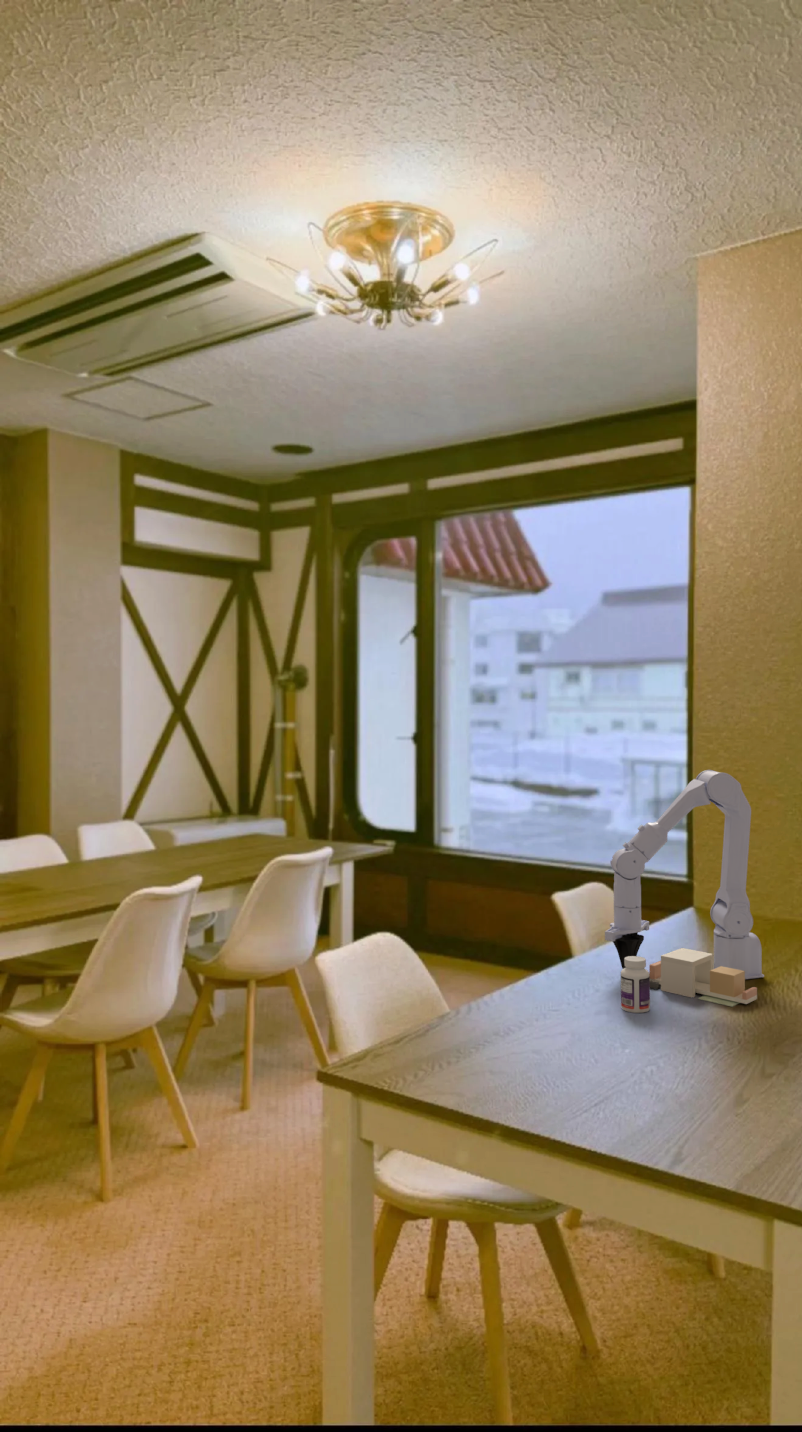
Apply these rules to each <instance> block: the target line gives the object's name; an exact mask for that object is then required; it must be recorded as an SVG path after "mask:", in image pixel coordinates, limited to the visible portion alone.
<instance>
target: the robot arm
mask: <svg viewBox="0 0 802 1432" xmlns="http://www.w3.org/2000/svg"><path fill="white" fill-rule="evenodd" d="M711 803H713V804H714V805H715V806H716V807H717V809H718V810H720V811H721V813H723V815H724V827H723V840H722V841H723V842H722V843H723V844H722V859H721V871H720V885H719V886H720V887H719V888H718V890H717V892H716V893H715V899H714V902H713V904H712V906H711V907H710V912H709V914H710V918H711V921H712V922H713V923H714V924H715V925H714V926H715V927H714V929H713V969H715V968H718V967H720V966H723V967H728V968H733V969H737V970H742V971H745V980H751V979H759V978H764V977H765V974H763V973H762V962H763V961H762V956H763V955H762V944H761V941H760V939H759V937H758V936H757V935H756V934H755V933H753V932H751V930H752V929H753V925H754V917H753V915H752V913H751V910H750V909H751V907H750V906H751V903H750V900H749V897H748V895H747V880H748V879H747V876H748V862H749V861H748V860H749V850H750V849H749V848H750V847H749V846H750V834H751V821H752V820H751V819H752V807H751V805H750V803H749V801H748V798H747V797H746V795H745V793H744V792H743V789H742V784H741V783H740V782H739V781H738V780H737V779H736V778H735V777H733V776H732V775H731V774H729V773H727V772H719V771H715V770H712V769H706V770H703V771H700V773H698V775H696V777H695V778H693V779H692V780H691V781H689V783H687V785H686V786H685V787H684V789H683V790H682V791H681V792H680V793H679V794H678V796H677V797H676V798H675V799H674V800H673V801H672V802H671V804H670V805H669V806H668V807H667V809H665V811H664V812H663V813H662V815H661V816H660V817H659V818H658V819H657V820H656V821H655V822H646V823H645V825H643V824H641V825H639V826H638V827H637V830H638V832H637V833H636V834H635V835H634V836H632V838H631V839H630V840H629V841H628V842H624V843H623V844H622V847H623V848H622V849H618V850H617V851H615V852H614V853H613V855H612V859H611V860H610V866H611V868H612V870H613V871H614V872H613V873H614V874H613V875H614V876H613V880H614V882H613V922H611V923H609V928H608V929H607V930H604V941H609V942H612V943H613V944H614V946H615V949H616V952H617V954H618V958H619V963H620V965H621V970H622V969H624V968H626V966H625V964H624V958H625V957H628V956H638V952H639V950H640V947H641V946H642V944H643V942H644V939H645V936H644V935H643V934H639V933H641V932H642V931H650V921H649V920H644V919H642V884H641V875H642V874H644V871H645V868H646V864H647V863H648V862H650V860H651V859H652V858H653V857H654V856H655V855H656V853H658V852H659V851H660V850H661V848H663V847H664V845H666V843H668V834H669V832H670V831H671V830H672V829H673V828H674V827H675V826H676V825H678V824H679V822H680V821H681V820H683V819H684V818H685V816H687V815H688V814H689V813H690V812H691V811H692V810H693V809H694V808H696V807H702V806H707V805H711Z"/></svg>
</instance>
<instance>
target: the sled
mask: <svg viewBox="0 0 802 1432" xmlns="http://www.w3.org/2000/svg"><path fill="white" fill-rule="evenodd" d="M648 965H649V970H648V972H649V975H650V981H653V982H658V983H659V984H660V985H661V960H659V961H656V962H653V963H650V964H648ZM745 986H746V979H745V971H742V970H737V969H733V968H728V967H723V966H720V967H718V968H715V969H714V968H713V970H710V984H705V983H701V982H696V981H695V994H696V993H697V994H701V995H703V996H704V995H708V996H713V997H717V998H722V999H726V1000H730V1001H735V1002H739V1004H744V1005H747V1004H750V1003H751V1002H753V1001H756V1000H758V987H755V986H752V987H750V988H748V989H746V987H745Z"/></svg>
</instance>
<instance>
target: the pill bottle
mask: <svg viewBox="0 0 802 1432" xmlns="http://www.w3.org/2000/svg"><path fill="white" fill-rule="evenodd" d="M624 964H625V966H626V968H624V969H622V968H621V971H620V1007H621V1009H622V1010H624V1011H625V1012H628V1013H632V1014H642V1013H643V1014H644V1013H647V1012H649V1011H650V1009H651V996H650V995H651V992H650V991H651V988H650V975H649V970H647V969H646V967H647V960H646V958H645V957H643V956H640V955H639V956H638V955H637V956H628V957H625V958H624Z"/></svg>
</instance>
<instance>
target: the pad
mask: <svg viewBox="0 0 802 1432" xmlns="http://www.w3.org/2000/svg"><path fill="white" fill-rule="evenodd" d="M698 1000H700V1001H705V1002H710V1003H714V1004H718V1005H721V1006H722V1005H723V1006H727V1007H732V1008H733V1007H735V1006H737V1005H738V1004H740V1003H739V1002H735V1001H730V1000H726V999H722V998H717V997H713V996H708V995H704V994H703V995H702V996H699V997H698Z"/></svg>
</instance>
